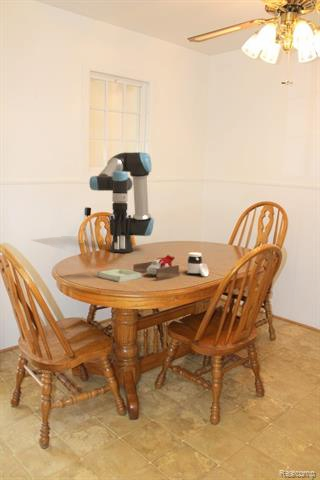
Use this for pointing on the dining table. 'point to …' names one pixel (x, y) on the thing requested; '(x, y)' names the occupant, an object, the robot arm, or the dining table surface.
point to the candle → (160, 264)
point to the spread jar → (196, 265)
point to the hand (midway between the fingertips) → (119, 248)
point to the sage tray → (119, 275)
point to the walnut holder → (158, 271)
